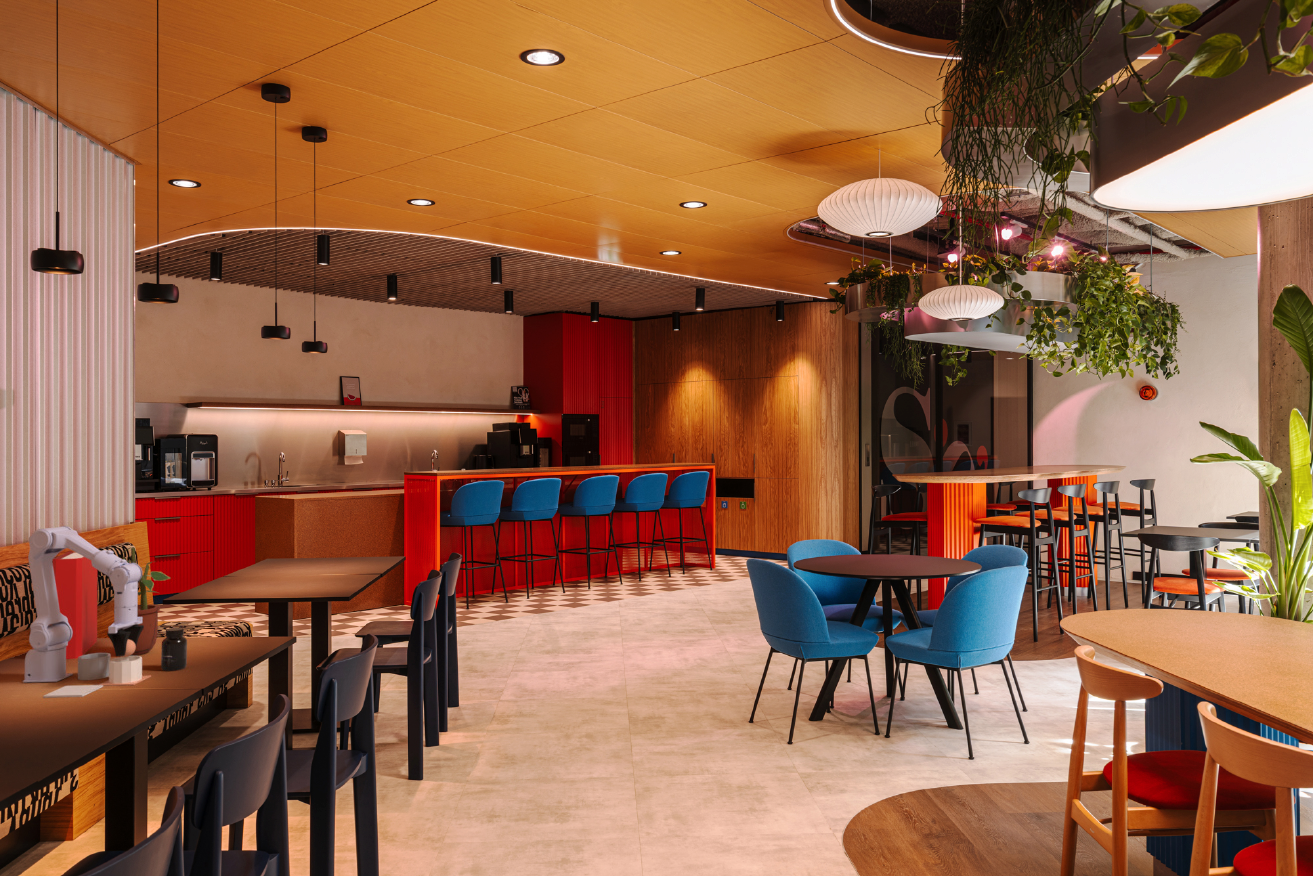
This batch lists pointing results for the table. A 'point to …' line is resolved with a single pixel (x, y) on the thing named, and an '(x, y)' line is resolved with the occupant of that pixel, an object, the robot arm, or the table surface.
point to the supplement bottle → (174, 650)
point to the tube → (125, 671)
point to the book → (77, 600)
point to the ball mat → (73, 691)
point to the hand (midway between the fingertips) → (125, 653)
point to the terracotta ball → (129, 648)
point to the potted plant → (147, 610)
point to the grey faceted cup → (93, 666)
